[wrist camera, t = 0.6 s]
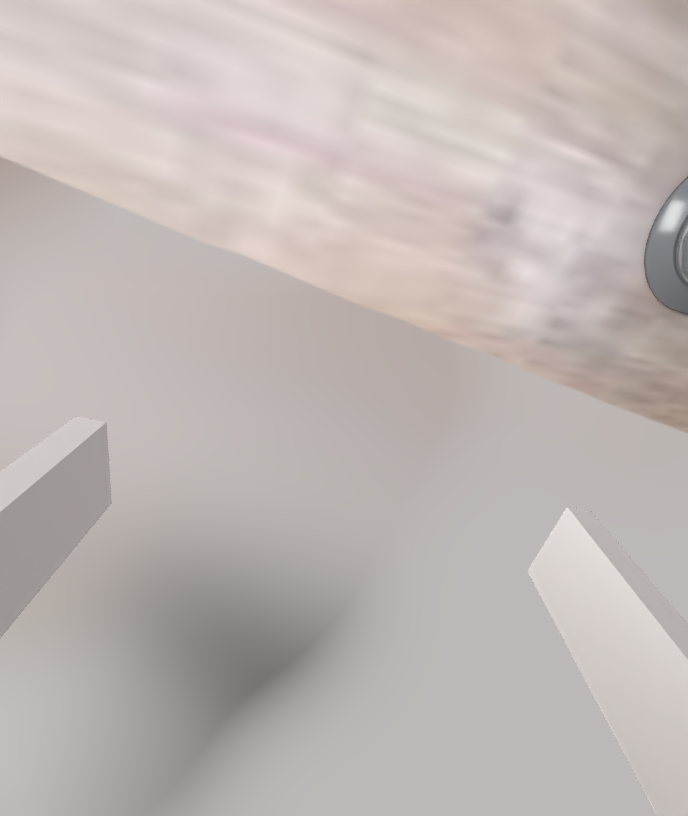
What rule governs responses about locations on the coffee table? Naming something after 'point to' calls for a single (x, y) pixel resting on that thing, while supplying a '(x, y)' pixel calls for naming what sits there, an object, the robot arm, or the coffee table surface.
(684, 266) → the grey french press
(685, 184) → the coaster
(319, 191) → the coffee table surface
